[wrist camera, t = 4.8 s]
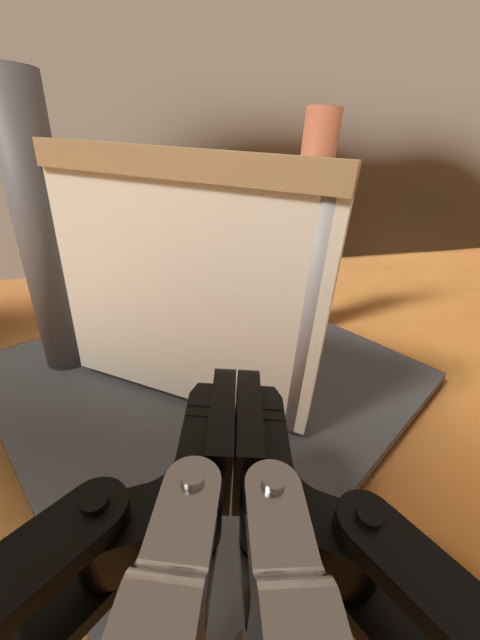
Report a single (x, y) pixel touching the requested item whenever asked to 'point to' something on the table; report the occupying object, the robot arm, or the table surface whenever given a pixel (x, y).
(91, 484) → the robot arm
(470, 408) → the table surface
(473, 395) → the table surface
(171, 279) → the panel
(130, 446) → the board
